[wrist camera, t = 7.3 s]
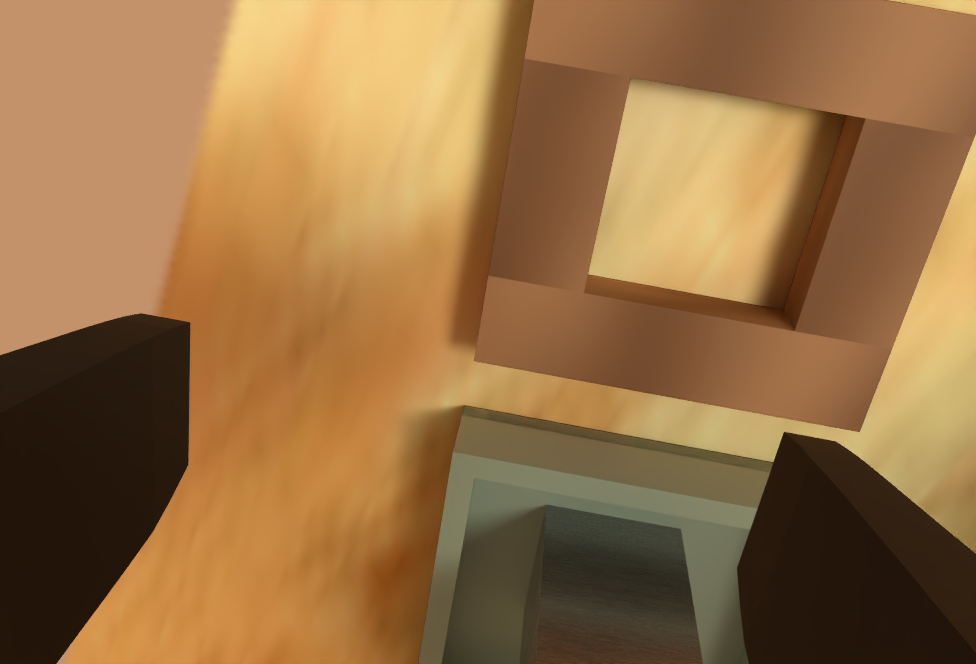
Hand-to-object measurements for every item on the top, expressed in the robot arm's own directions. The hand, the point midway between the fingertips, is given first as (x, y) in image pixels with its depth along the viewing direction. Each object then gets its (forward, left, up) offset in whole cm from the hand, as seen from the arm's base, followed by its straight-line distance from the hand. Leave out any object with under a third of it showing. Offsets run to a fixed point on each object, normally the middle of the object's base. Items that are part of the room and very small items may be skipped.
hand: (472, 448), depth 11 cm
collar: (-4, -1, -10) cm, 11 cm away
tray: (-4, +10, -10) cm, 15 cm away
